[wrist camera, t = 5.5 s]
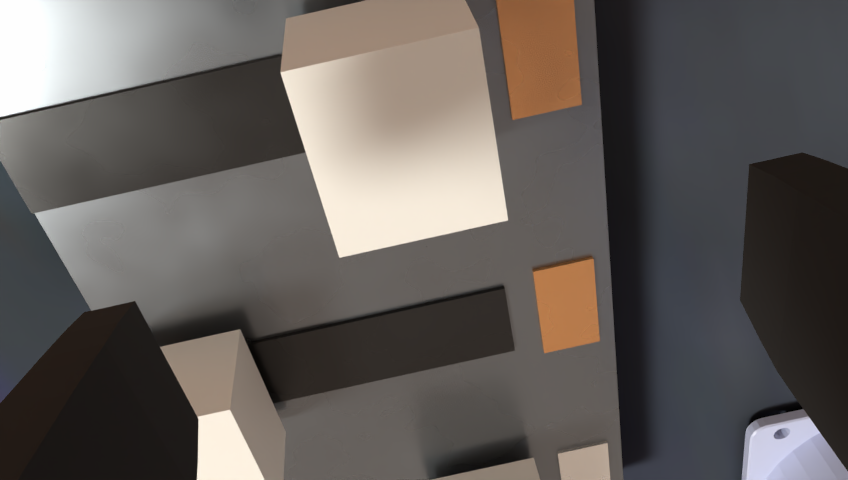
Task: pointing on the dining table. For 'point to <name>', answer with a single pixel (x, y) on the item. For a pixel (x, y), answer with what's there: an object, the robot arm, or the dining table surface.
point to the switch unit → (312, 239)
